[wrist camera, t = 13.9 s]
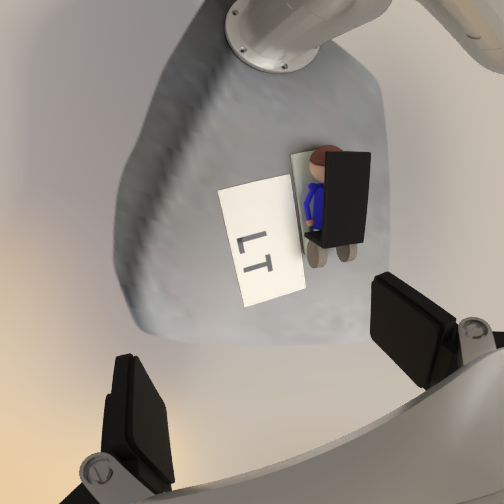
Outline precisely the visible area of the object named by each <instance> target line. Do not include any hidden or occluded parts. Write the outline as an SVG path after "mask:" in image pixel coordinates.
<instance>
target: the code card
mask: <svg viewBox="0 0 504 504" xmlns="http://www.w3.org/2000/svg"><path fill="white" fill-rule="evenodd" d="M218 195H219V199H220V204H221V208H222V212H223V217H224V221H225V226H226V230H227V235H228V239H229V243H230V248H231V252H232V256H233V261H234V265H235V269H236V273H237V278H238V282H239V286H240V290H241V294H242V299H243V303H244V307H247V306H251V305H254V304H257V303H260V302H264V301H267V300H270V299H273V298H276V297H279V296H282V295H285V294H288V293H292V292H295V291H298V290H301V289H304V288H306V287H305V279H304V270H303V262H302V254H301V247H300V239H299V232H298V225H297V218H296V211H295V204H294V197H293V191H292V184H291V178H290V174H287V175H282V176H278V177H273V178H269V179H264V180H260V181H255V182H251V183H247V184H242V185H238V186H234V187H230V188H226V189H222V190H218Z"/></svg>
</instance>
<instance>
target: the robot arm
mask: <svg viewBox="0 0 504 504" xmlns="http://www.w3.org/2000/svg"><path fill="white" fill-rule="evenodd" d="M416 1H418V2H419V3H420V4H421V5H422V6H424V7H425V8H426V9H427V10H428V11H429V12H430V13H431V14H432V15H433V16H434V17H435V18H436V19H437V20H438V21H439V22H440V23H441V24H442V25H443V27H444V28H445V29H446V30H447V31H448V32H449V33H450V34H451V35H452V36H453V38H454V39H456V41H457V42H458V43H459V44H460V45H461V46H462V47H463V48H464V50H465V51H466V52H467V53H468V54H469V55H470V56H471V57H472V58H473V59H474V60H475V61H477V62H478V63H479V64H480V65H482V66H483V67H485V68H487V69H489V70H491V71H493V72H496V73H500V74H504V0H416ZM391 2H392V0H237V1H236V2H235V3H234V4H233V5H232V7H231V8H230V10H229V12H228V14H227V16H226V20H225V34H226V39H227V41H228V43H229V45H230V47H231V49H232V50H233V51H234V53H235V54H236V55H237V56H238V57H239V58H240V59H241V60H242V61H244V62H245V63H246V64H248V65H249V66H251V67H253V68H255V69H258V70H260V71H264V72H267V73H275V74H283V73H290V72H294V71H296V70H299V69H301V68H303V67H304V66H306V65H308V64H309V63H310V62H311V61H312V60H313V59H314V58H315V56H316V55H317V53H318V51H319V48H320V45H321V44H323V43H325V42H327V41H329V40H331V39H333V38H335V37H337V36H339V35H341V34H343V33H346V32H348V31H350V30H352V29H354V28H356V27H359V26H361V25H363V24H365V23H367V22H369V21H372V20H373V19H375V18H377V17H379V16H380V15H382V14H383V13H384V12H385V11H386V10H387V9H388V7H389V6H390V4H391ZM233 14H235V15H233ZM240 50H242V51H243V53H241V52H240ZM281 66H283V67H284V69H282V67H281ZM370 335H371V338H372V339H373V341H374V342H375V343H376V344H377V345H378V346H379V347H380V348H381V349H382V350H383V351H384V352H385V353H386V354H387V355H388V356H389V357H390V358H391V359H392V360H393V361H394V362H395V363H396V364H397V365H398V366H399V367H400V368H401V369H402V370H403V371H404V372H405V373H406V374H407V375H408V376H409V377H410V378H411V380H413V382H414V383H415V384H416V385H417V386H418V387H420V388H422V387H423V388H424V389H425V390H426V391H425V392H424V393H422V394H421V395H419V396H418V397H416V398H414V399H413V400H411V401H409V402H408V403H406V404H404V405H403V406H401V407H399V408H397V409H396V410H394V411H392V412H390V413H389V414H387V415H385V416H383V417H382V418H379V419H378V420H376V421H374V422H372V423H370V424H368V425H366V426H364V427H362V428H360V429H358V430H357V431H354V432H352V433H350V434H348V435H346V436H343V437H341V438H339V439H337V440H335V441H332V442H330V443H328V444H326V445H323V446H321V447H319V448H316V449H314V450H311V451H309V452H306V453H303V454H301V455H298V456H296V457H293V458H290V459H287V460H285V461H282V462H279V463H276V464H273V465H270V466H267V467H264V468H261V469H258V470H254V471H251V472H248V473H244V474H240V475H237V476H233V477H230V478H226V479H222V480H218V481H214V482H210V483H205V484H201V485H197V486H192V487H188V488H183V489H178V490H174V491H172V488H171V484H172V483H175V478H174V470H173V464H172V456H171V448H170V440H169V432H168V422H167V411H166V407H165V404H164V402H163V400H162V398H161V397H160V396H159V393H158V392H157V390H156V389H155V387H154V385H153V383H152V382H151V380H150V378H149V376H148V374H147V373H146V371H145V369H144V367H143V365H142V363H141V362H140V360H139V358H138V357H137V356H134V357H133V355H132V354H130V353H129V354H125V355H121V356H117V357H116V359H115V366H114V374H113V382H112V390H111V394H108V395H107V396H106V400H105V408H104V418H103V428H102V441H101V452H98V453H94V454H91V455H90V456H88V457H87V458H86V459H85V460H84V461H83V462H82V464H81V466H80V471H79V475H80V479H81V481H82V483H81V484H80V485H79V486H78V487H76V489H74V490H73V491H72V492H71V493H70V494H69V495H68V496H67V497H66V498H65V499H64V500H63V501H62V502H61V503H59V504H504V332H495V331H492V330H491V327H490V326H489V324H488V323H487V322H486V321H484V320H483V319H480V318H476V317H469V318H466V319H463V320H462V321H461V322H460V323H459V325H458V324H457V323H456V318H455V317H454V316H452V315H451V314H450V313H448V312H447V311H445V310H444V309H443V308H441V307H440V306H438V305H437V304H435V303H434V302H433V301H431V300H430V299H428V298H427V297H425V296H424V295H423V294H421V293H419V292H418V291H417V290H415V289H414V288H412V287H411V286H409V285H408V284H406V283H405V282H403V281H402V280H400V279H399V278H397V277H396V276H394V275H393V274H391V273H390V272H384V273H382V274H379V275H377V276H375V278H374V281H372V284H371V319H370ZM163 492H164V493H163Z"/></svg>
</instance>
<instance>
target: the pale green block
mask: <svg viewBox="0 0 504 504" xmlns="http://www.w3.org/2000/svg"><path fill="white" fill-rule="evenodd" d="M314 151H315V150H313V151H307V152H301V153H295V154H290V158H291V164H292V170H293V177H294V183H295V190H296V196H297V203H298V210H299V217H300V224H301V232H302V239H303V247H304V254H306V255H307V252H306V249H307V244H308V242H309V239H307V238H306V237H304V232H309V226H308V225H307V224H306V221H307V220H306V214H305V209H304V202H305V199H306V197H307V195H308V193H309V188H308V185H309V184H310V183H315V184H317V183H322V182H320V181H318V180H317V179H315V178H314V176H313V175H312V174H311V172H310V169H309V159H310V156H311V154H312V153H313V152H314ZM313 205H314V195H313V197H312V200H311V202H310V204H309V206H310V212H311V218H312V219H313ZM314 231H319V230H316V229H314ZM326 249H327V248H326Z"/></svg>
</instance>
